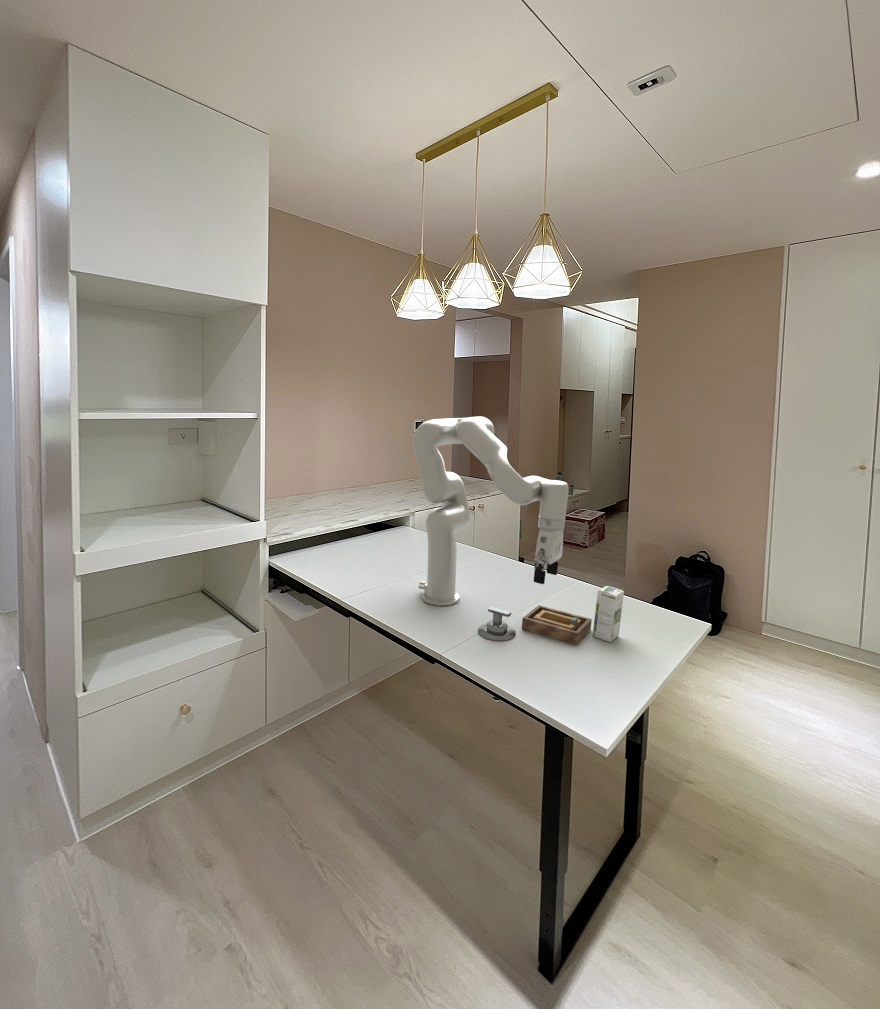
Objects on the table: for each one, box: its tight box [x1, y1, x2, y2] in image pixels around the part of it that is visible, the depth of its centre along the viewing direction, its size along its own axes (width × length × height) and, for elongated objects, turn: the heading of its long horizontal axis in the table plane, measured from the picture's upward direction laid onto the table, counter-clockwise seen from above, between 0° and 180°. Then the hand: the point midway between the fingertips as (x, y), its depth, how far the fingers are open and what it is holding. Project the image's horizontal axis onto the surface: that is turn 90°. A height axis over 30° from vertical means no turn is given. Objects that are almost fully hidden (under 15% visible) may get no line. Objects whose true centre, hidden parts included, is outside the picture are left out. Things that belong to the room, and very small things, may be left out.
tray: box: [521, 604, 593, 646], centre depth 159 cm, size 17×12×4 cm
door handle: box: [477, 606, 517, 642], centre depth 156 cm, size 11×11×7 cm
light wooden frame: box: [533, 610, 581, 631], centre depth 159 cm, size 7×12×4 cm, turn 55°
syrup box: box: [592, 585, 625, 643], centre depth 155 cm, size 6×6×14 cm
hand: (545, 578), depth 159 cm, fingers open, 9 cm apart
